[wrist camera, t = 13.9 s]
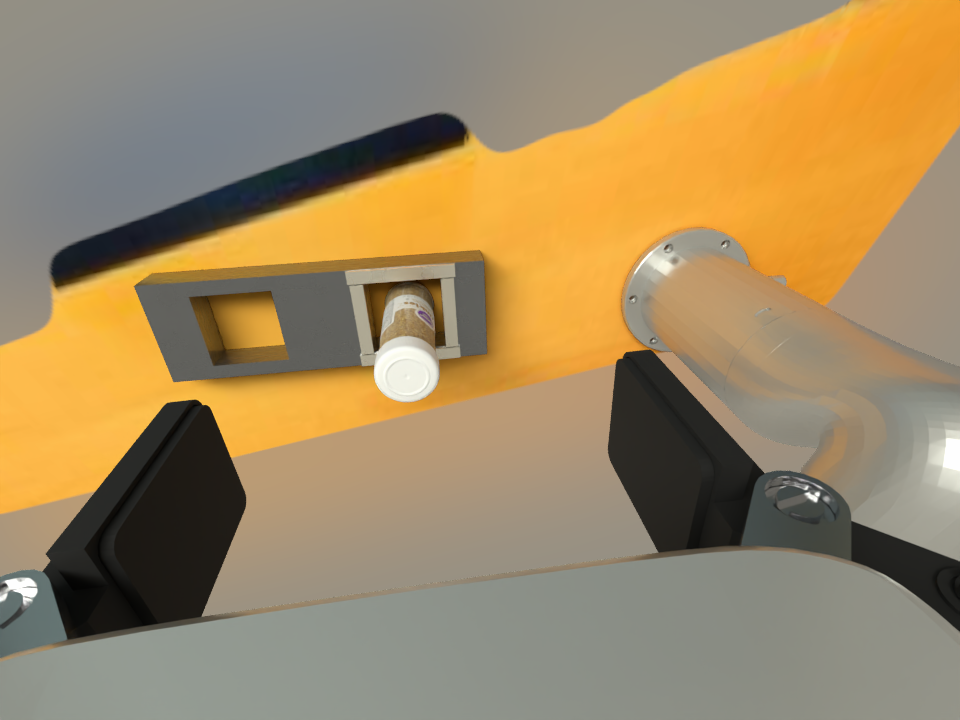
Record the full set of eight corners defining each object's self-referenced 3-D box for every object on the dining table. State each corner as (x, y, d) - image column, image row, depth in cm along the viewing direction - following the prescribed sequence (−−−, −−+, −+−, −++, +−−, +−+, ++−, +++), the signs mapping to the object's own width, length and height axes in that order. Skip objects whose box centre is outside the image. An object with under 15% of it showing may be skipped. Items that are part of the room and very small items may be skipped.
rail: (479, 250, 43) (484, 261, 40) (483, 339, 47) (487, 355, 45) (151, 273, 41) (131, 287, 38) (187, 365, 45) (172, 383, 42)
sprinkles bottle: (442, 294, 45) (452, 366, 33) (418, 332, 46) (419, 414, 35) (398, 270, 43) (393, 336, 31) (375, 311, 45) (361, 388, 33)
